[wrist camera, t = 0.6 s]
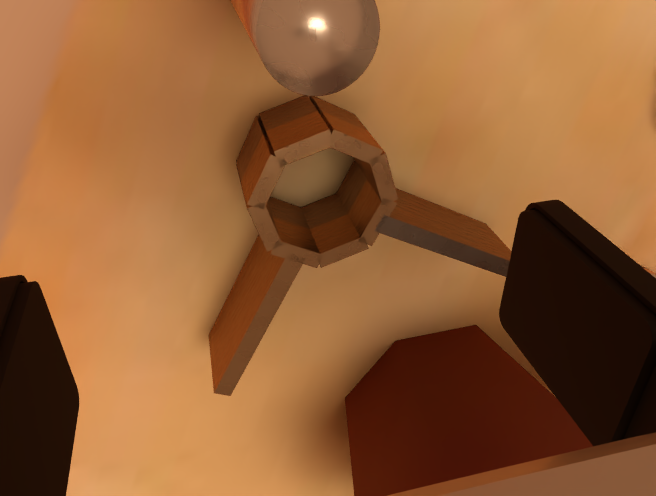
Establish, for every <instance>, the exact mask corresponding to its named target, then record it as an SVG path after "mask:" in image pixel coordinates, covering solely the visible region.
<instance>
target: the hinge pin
mask: <svg viewBox="0 0 656 496" xmlns="http://www.w3.org/2000/svg"><path fill="white" fill-rule="evenodd" d="M230 1H231V3H232V5H233V7H234V9H235V10H236V12H237V14H238V16H239V18H240V20H241V22H242V24H243V26H244V27H245V29H246V31H247V33H248V35H249V37H250V39H251V41H252V43H253V44H254V46H255V48H256V50H257V52H258V54H259V56H260V58H261V60H262V62H263V63H264V65H265V67H266V68H267V70H268V72H269V73H270V74H271V75H272V76H273V78H274V79H275V80H277V81H278V82H279V83H280V84H281V85H283V86H284V87H285V88H287V89H289V90H291V91H293V92H296V93H299V94H303V95H308V96H323V95H328V94H332V93H335V92H338V91H340V90H342V89H344V88H346V87H347V86H349V85H351V84H352V83H353V82H354V81H356V80H357V79H358V78H359V77H360V76H361V75H362V74H363V72H364V71H365V70H366V68H367V67H368V65H369V64H370V62H371V60H372V58H373V56H374V54H375V51H376V48H377V45H378V40H379V31H380V22H379V14H378V9H377V6H376V3H375V1H374V0H230Z"/></svg>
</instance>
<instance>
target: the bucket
mask: <svg viewBox="0 0 656 496" xmlns="http://www.w3.org/2000/svg"><path fill="white" fill-rule="evenodd" d="M345 403H346V414H347V424H348V434H349V445H350V455H351V465H352V476H353V486H354V496H387V495H392V494H396V493H400V492H404V491H408V490H412V489H416V488H421V487H425V486H429V485H433V484H437V483H441V482H446V481H450V480H454V479H458V478H462V477H466V476H471V475H475V474H479V473H483V472H487V471H491V470H496V469H500V468H504V467H508V466H512V465H517V464H521V463H525V462H529V461H534V460H538V459H542V458H546V457H551V456H555V455H559V454H564V453H568V452H572V451H576V450H581V449H585V448H589V447H593V445H592V444H591V443H590V441H589V440H588V439H587V437H586V436H585V435H584V433H583V432H582V431H581V429H580V428H579V427H578V426H577V424H576V423H575V422H574V420H573V419H572V418H571V416H570V415H569V414H568V412H567V411H566V410H565V408H564V407H563V406H562V404H561V403H560V402H559V400H558V399H557V398H556V397H554V396H553V395H552V394H551V393H550V392H549V391H548V390H547V389H546V388H545V387H543V386H542V385H541V384H540V383H539V382H538V381H537V380H536V379H535V378H534V377H532V376H531V375H530V374H529V373H528V372H527V371H526V370H525V369H524V368H523V367H522V366H520V365H519V364H518V363H517V362H516V361H515V360H514V359H513V358H512V357H511V356H509V355H508V354H507V353H506V352H505V351H504V350H503V349H502V348H501V347H500V346H499V345H497V344H496V343H495V342H494V341H493V340H492V339H491V338H490V337H489V336H488V335H486V334H485V333H484V332H483V331H482V330H481V329H480V328H479V327H478V326H477V325H473V326H468V327H463V328H458V329H453V330H448V331H442V332H437V333H432V334H427V335H422V336H417V337H412V338H407V339H402V340H397V341H395V342H394V343H393V344H392V346H391V347H390V348H389V349H388V350H387V351H386V352H385V353H384V355H383V356H382V357H381V358H380V359H379V360H378V361H377V363H376V364H375V365H374V366H373V367H372V368H371V369H370V370H369V372H368V373H367V374H366V375H365V376H364V377H363V378H362V379H361V381H360V382H359V383H358V384H357V385H356V386H355V387H354V389H353V390H352V391H351V392H350V393H349V394H348V395H347V396H346V398H345Z"/></svg>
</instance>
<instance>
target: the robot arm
mask: <svg viewBox="0 0 656 496" xmlns="http://www.w3.org/2000/svg"><path fill="white" fill-rule="evenodd" d="M499 317H500V321H501V324H502V326H503V328H504V329H505V331H506V332H507V333H508V335H509V336H510V337H511V338H512V340H513V341H514V342H515V344H516V345H517V346H518V348H519V349H520V350H521V352H522V353H523V354H524V356H525V357H526V358H527V360H528V361H529V362H530V364H531V365H532V366H533V367H534V369H535V370H536V371H537V373H538V374H539V375H540V377H541V378H542V379H543V381H544V382H545V383H546V385H547V386H548V387H549V389H550V390H551V391H552V393H553V394H554V395H555V397H556V398H557V399H558V400H559V402H560V403H561V404H562V406H563V407H564V408H565V410H566V411H567V412H568V414H569V415H570V416H571V418H572V419H573V420H574V422H575V423H576V424H577V426H578V427H579V428H580V429H581V431H582V432H583V433H584V435H585V436H586V437H587V439H588V440H589V441H590V443H591V444H592V445H593V447H589V448H585V449H581V450H576V451H572V452H568V453H564V454H559V455H555V456H551V457H546V458H542V459H538V460H534V461H529V462H525V463H521V464H517V465H512V466H508V467H504V468H500V469H496V470H491V471H487V472H483V473H479V474H475V475H471V476H466V477H462V478H458V479H454V480H450V481H446V482H441V483H437V484H433V485H429V486H425V487H421V488H416V489H412V490H408V491H404V492H400V493H396V494H392V495H387V496H656V274H655V273H654V272H652V271H650V270H648V269H646V268H643V267H641V266H640V265H639V264H638V263H636V262H635V261H634V260H633V259H631V258H630V257H629V256H628V255H627V254H625V253H624V252H623V251H622V250H620V249H619V248H618V247H617V246H616V245H614V244H613V243H612V242H611V241H609V240H608V239H607V238H606V237H604V236H603V235H602V234H601V233H600V232H598V231H597V230H596V229H595V228H593V227H592V226H591V225H590V224H589V223H587V222H586V221H585V220H584V219H582V218H581V217H580V216H579V215H578V214H576V213H575V212H574V211H573V210H571V209H570V208H569V207H568V206H566V205H565V204H564V203H563V202H561V201H559V200H550V201H543V202H536V203H531V204H529V205H528V206H527V208H526V210H525V211H523V212H521V214H520V215H519V218H518V223H517V228H516V233H515V237H514V242H513V247H512V252H511V257H510V262H509V266H508V271H507V276H506V281H505V286H504V291H503V295H502V300H501V305H500V310H499ZM78 410H79V394H78V389H77V385H76V383H75V380H74V377H73V375H72V372H71V369H70V366H69V364H68V361H67V358H66V356H65V353H64V350H63V347H62V345H61V342H60V339H59V337H58V334H57V331H56V328H55V326H54V323H53V320H52V318H51V315H50V312H49V309H48V307H47V304H46V301H45V299H44V296H43V293H42V290H41V288H40V286H39V284H38V283H37V282H36V281H33V282H27V280H26V278H25V277H24V276H22V275H17V276H10V277H3V278H0V496H66V491H67V484H68V477H69V471H70V464H71V457H72V450H73V444H74V437H75V430H76V424H77V417H78Z"/></svg>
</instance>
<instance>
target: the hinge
mask: <svg viewBox="0 0 656 496" xmlns="http://www.w3.org/2000/svg"><path fill="white" fill-rule="evenodd" d="M259 115H260V117H261V118H259V117H256V118H255V120H254V122H253V125H252V127H251V129H250V131H249V133H248V136H247V138H246V140H245V142H244V145H243V147H242V149H241V151H240V154H239V156H238V158H237V160H236V162H237V164H236V165H237V169H238V174H239V178H240V182H241V186H242V190H243V194H244V198H245V202H246V206H247V209H248V212H249V214H250V216H251V218H252V220H253V222H254V224H255V227H256V229H257V231H258V233H259V235H258V237H257V239H256V241H255V243H254V245H253V247H252V249H251V251H250V253H249V255H248V257H247V259H246V261H245V263H244V265H243V267H242V269H241V271H240V273H239V275H238V277H237V279H236V281H235V283H234V285H233V287H232V289H231V291H230V293H229V295H228V297H227V299H226V301H225V303H224V306H223V308H222V310H221V312H220V314H219V316H218V318H217V320H216V322H215V324H214V326H213V328H212V330H211V332H210V334H209V344H210V355H211V366H212V377H213V388H214V393H217V394H222V395H228V396H231V394H232V392H233V390H234V388H235V387H236V385H237V383H238V381H239V379H240V377H241V376H242V374H243V372H244V370H245V368H246V366H247V365H248V363H249V361H250V359H251V357H252V355H253V354H254V352H255V350H256V348H257V346H258V345H259V343H260V341H261V339H262V337H263V335H264V334H265V332H266V330H267V328H268V326H269V324H270V323H271V321H272V319H273V317H274V315H275V313H276V312H277V310H278V308H279V306H280V304H281V302H282V301H283V299H284V297H285V295H286V293H287V291H288V290H289V288H290V286H291V284H292V282H293V281H294V279H295V277H296V275H297V273H298V271H299V270H300V268H301V266H302V264H305V265H309V266H312V267H315V268H317V267H318V265H319V264H320V267H324V266H326V265H329V264H331V263H334V262H336V261H339V260H341V259H344V258H346V257H349V256H351V255H354V254H356V253H359V252H361V251H364V250H366V249H369V248H368V245H371V246H372V245H373V243H374V241H375V240H376V238H377V236H378V235H379V233H381V234H384V235H387V236H390V237H393V238H396V239H399V240H402V241H404V242H407V243H410V244H413V245H416V246H419V247H422V248H425V249H427V250H430V251H433V252H436V253H439V254H442V255H445V256H448V257H450V258H453V259H456V260H459V261H462V262H465V263H468V264H471V265H473V266H476V267H479V268H482V269H485V270H488V271H491V272H494V273H496V274H499V275H502V276H505V277H506V276H507V271H508V266H509V262H510V257H511V252H512V251H511V250H510V249H509V248H508V247H507V246H506V245H505V244H504V243H503V242H502V241H501V240H500V239H499V237H498V236H497V235H496V234H495V233H494V232H493V231H492V230H491V229H490V228H489V227H488V226H487V225H486V224H485V223H483V222H480V221H478V220H475V219H472V218H470V217H467V216H465V215H462V214H460V213H457V212H455V211H452V210H450V209H447V208H445V207H442V206H440V205H437V204H434V203H432V202H429V201H427V200H424V199H422V198H419V197H417V196H414V195H412V194H409V193H407V192H404V191H401V190H399V189H396V188H395V186H394V182H393V179H392V175H391V171H390V167H389V164H388V160H387V156H386V153H385V152H384V151H383V149H382V148H381V147H380V146H379V144H378V143H377V142H376V141H375V139H374V138H373V137H372V136H371V134H370V133H369V132H368V131H367V129H366V128H365V127H364V126H363V124H362V123H361V122H360V121H359V119H358V118H357V117H356V116H355V115H354V114H353V113H351V112H348V111H346V110H344V109H342V108H339V107H337V106H335V105H333V104H330V103H328V102H326V101H324V100H321V99H319V98H317V97H315V96H310V98H309V97H308V96H307V95H305V96H303V97H300V98H297V99H295V100H292V101H290V102H287V103H285V104H282V105H280V106H277V107H275V108H272V109H270V110H267V111H264V112H262V113H259ZM328 148H333V149H335V150H338V151H340V152H343V153H345V154H348V155H350V156H352V157H353V159H354V162H353V164H352V166H351V167H350V169H349V171H348V173H347V175H346V177H345V179H344V180H343V182H342V184H341V186H340V188H339V190H338V191H337V193H336V194H334V195H331V196H329V197H326V198H324V199H321V200H319V201H316V202H314V203H311V204H309V205H306V206H304V207H298V206H295V205H292V204H290V203H287V202H284V201H281V200H278V199H275V198H272V197H270V195H271V193H272V191H273V189H274V187H275V185H276V183H277V181H278V179H279V177H280V175H281V173H282V171H283V169H284V167H285V165H287V164H290V163H292V162H295V161H297V160H300V159H302V158H305V157H307V156H310V155H312V154H315V153H317V152H320V151H322V150H325V149H328ZM367 244H368V245H367Z"/></svg>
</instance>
